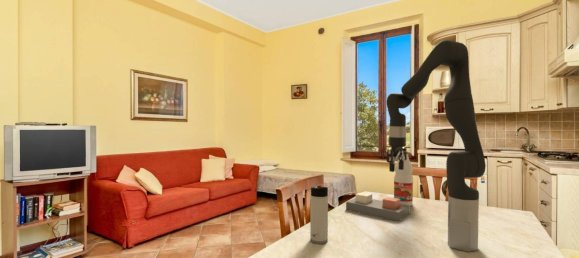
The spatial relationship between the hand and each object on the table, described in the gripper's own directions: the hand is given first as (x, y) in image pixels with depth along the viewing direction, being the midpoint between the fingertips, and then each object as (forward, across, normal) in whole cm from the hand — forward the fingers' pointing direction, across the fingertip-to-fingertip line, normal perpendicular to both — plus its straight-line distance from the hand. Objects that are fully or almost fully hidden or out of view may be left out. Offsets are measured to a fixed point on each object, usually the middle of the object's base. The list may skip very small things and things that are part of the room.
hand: (396, 170), depth 141 cm
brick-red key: (+17, -3, +1) cm, 17 cm away
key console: (+21, -4, +8) cm, 22 cm away
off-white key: (+17, -4, +15) cm, 23 cm away
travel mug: (+20, -51, +2) cm, 55 cm away
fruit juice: (+21, +20, +6) cm, 30 cm away
